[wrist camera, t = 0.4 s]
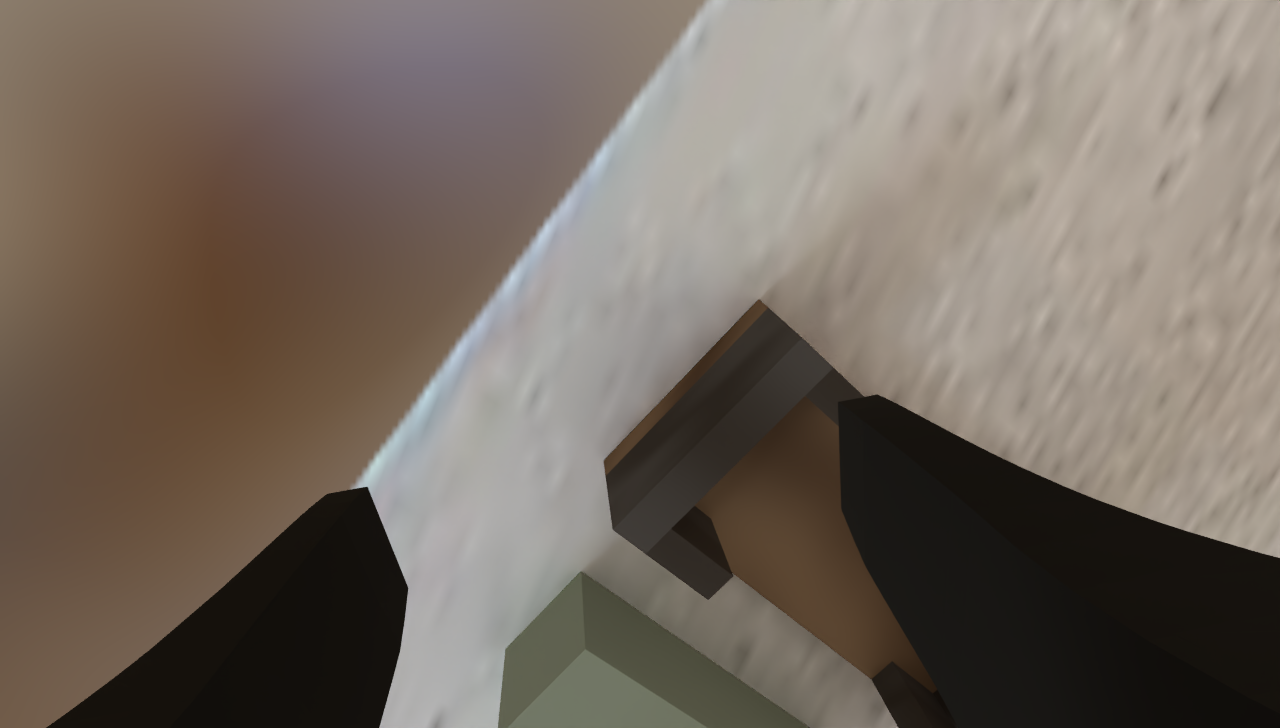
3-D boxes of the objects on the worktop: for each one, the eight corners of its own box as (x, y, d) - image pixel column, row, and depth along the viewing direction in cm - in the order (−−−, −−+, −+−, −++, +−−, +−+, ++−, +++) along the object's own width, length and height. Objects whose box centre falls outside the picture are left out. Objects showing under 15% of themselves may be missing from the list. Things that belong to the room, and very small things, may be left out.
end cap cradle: (919, 704, 27) (977, 798, 24) (603, 461, 22) (612, 529, 19) (1060, 584, 26) (1144, 662, 22) (758, 299, 21) (801, 337, 18)
